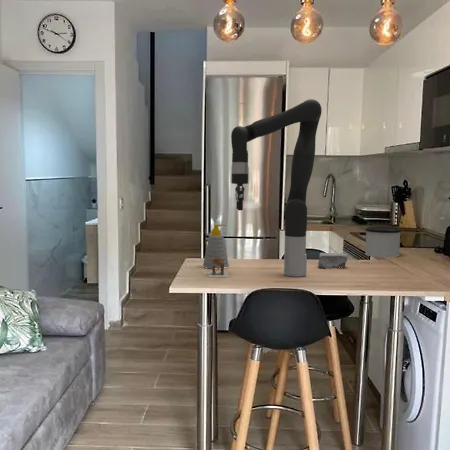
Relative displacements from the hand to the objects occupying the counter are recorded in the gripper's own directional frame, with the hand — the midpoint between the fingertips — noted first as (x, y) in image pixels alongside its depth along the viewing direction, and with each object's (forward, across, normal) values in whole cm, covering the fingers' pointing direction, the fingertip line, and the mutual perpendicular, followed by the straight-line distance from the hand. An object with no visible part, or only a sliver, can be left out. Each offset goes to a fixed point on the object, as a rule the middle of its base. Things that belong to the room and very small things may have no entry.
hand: (239, 209), depth 210 cm
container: (+28, +53, -85) cm, 104 cm away
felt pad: (+28, -6, +10) cm, 30 cm away
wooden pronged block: (+28, -6, +10) cm, 30 cm away
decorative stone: (+28, +13, -45) cm, 55 cm away
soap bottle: (+28, +14, +10) cm, 33 cm away
